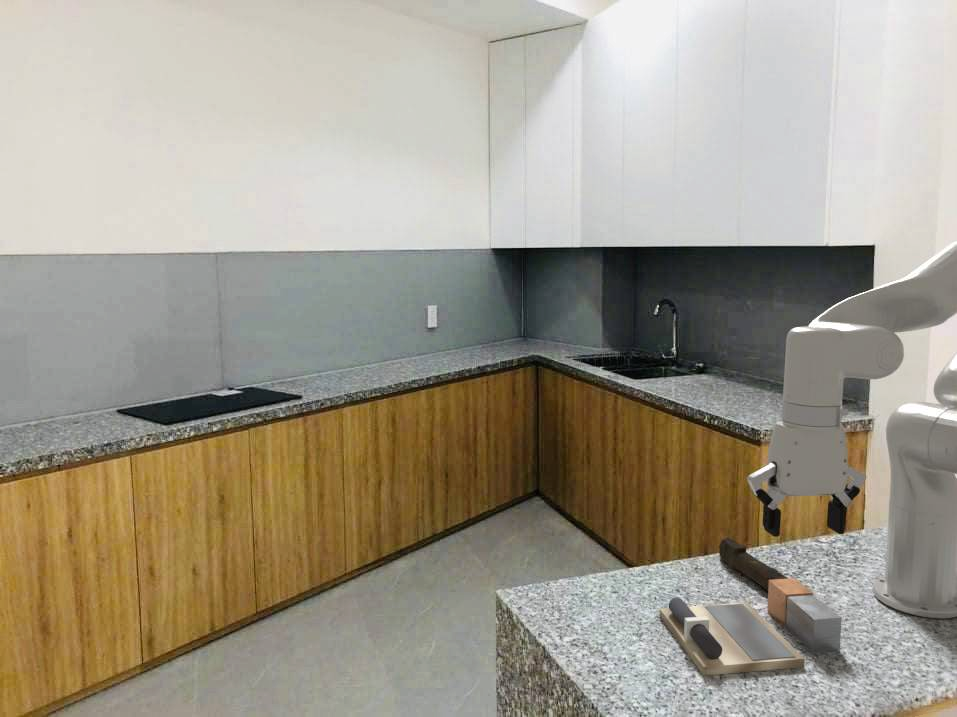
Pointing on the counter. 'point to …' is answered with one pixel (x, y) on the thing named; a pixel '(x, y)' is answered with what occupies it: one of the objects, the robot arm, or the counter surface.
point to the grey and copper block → (804, 615)
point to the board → (736, 640)
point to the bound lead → (695, 628)
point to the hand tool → (747, 563)
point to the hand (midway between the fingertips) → (803, 532)
